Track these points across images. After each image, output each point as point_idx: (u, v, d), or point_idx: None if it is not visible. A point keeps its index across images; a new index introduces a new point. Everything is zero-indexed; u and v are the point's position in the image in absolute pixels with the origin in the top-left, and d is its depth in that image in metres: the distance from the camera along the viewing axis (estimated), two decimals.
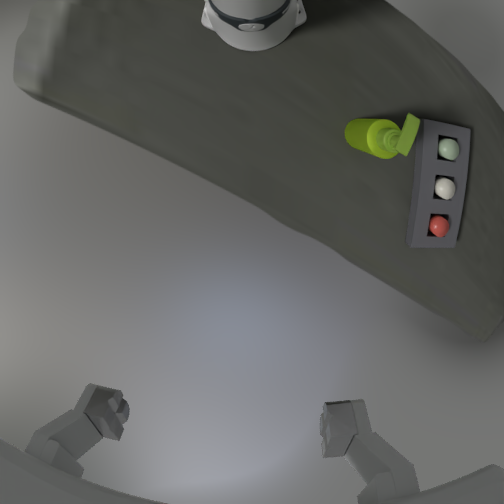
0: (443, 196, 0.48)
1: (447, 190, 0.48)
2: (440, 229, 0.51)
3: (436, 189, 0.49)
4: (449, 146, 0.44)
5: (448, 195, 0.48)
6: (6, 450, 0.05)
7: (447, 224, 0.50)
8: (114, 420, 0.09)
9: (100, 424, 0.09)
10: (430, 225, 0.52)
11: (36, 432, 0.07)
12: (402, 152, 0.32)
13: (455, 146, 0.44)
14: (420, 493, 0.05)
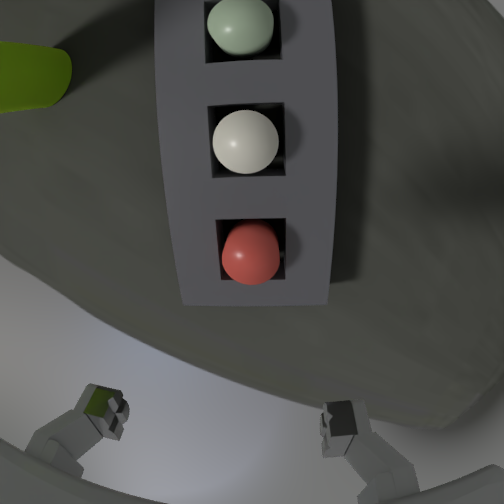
0: (233, 166, 0.18)
1: (245, 143, 0.17)
2: (247, 264, 0.21)
3: None
4: (230, 14, 0.14)
5: (252, 160, 0.18)
6: (6, 450, 0.05)
7: (270, 249, 0.20)
8: (114, 420, 0.09)
9: (100, 424, 0.09)
10: None
11: (36, 432, 0.07)
12: None
13: (255, 9, 0.13)
14: (420, 493, 0.05)
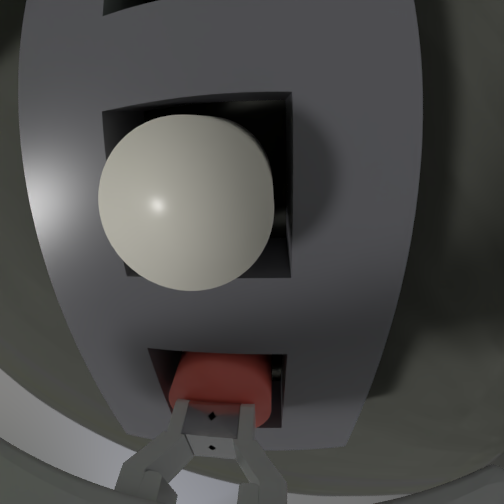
0: (154, 272, 0.07)
1: (178, 213, 0.06)
2: None
3: None
4: None
5: (202, 258, 0.07)
6: (6, 450, 0.05)
7: (254, 398, 0.10)
8: None
9: (199, 443, 0.09)
10: None
11: (125, 464, 0.07)
12: None
13: None
14: (420, 493, 0.05)
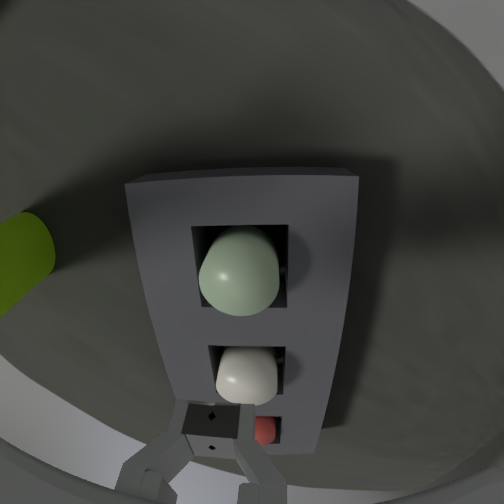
0: (235, 401, 0.19)
1: (246, 389, 0.18)
2: None
3: None
4: (226, 273, 0.15)
5: (253, 399, 0.18)
6: (6, 450, 0.05)
7: (268, 432, 0.22)
8: None
9: (199, 443, 0.09)
10: None
11: (125, 464, 0.07)
12: None
13: (257, 269, 0.14)
14: (420, 493, 0.05)
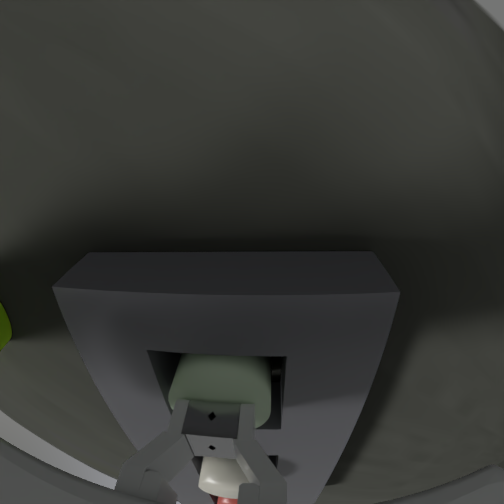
0: (221, 495, 0.14)
1: (232, 490, 0.13)
2: None
3: None
4: (201, 399, 0.10)
5: None
6: (6, 450, 0.05)
7: None
8: None
9: (199, 443, 0.09)
10: None
11: (125, 464, 0.07)
12: None
13: (242, 398, 0.10)
14: (420, 493, 0.05)
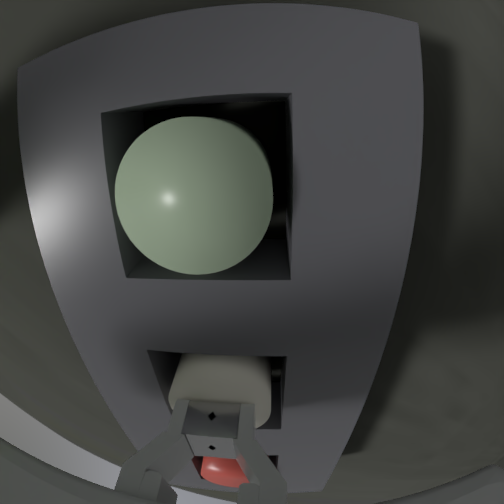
0: None
1: None
2: (230, 479, 0.14)
3: None
4: (163, 179, 0.07)
5: None
6: (6, 450, 0.05)
7: None
8: None
9: (199, 443, 0.09)
10: None
11: (125, 464, 0.07)
12: None
13: (226, 166, 0.07)
14: (420, 493, 0.05)
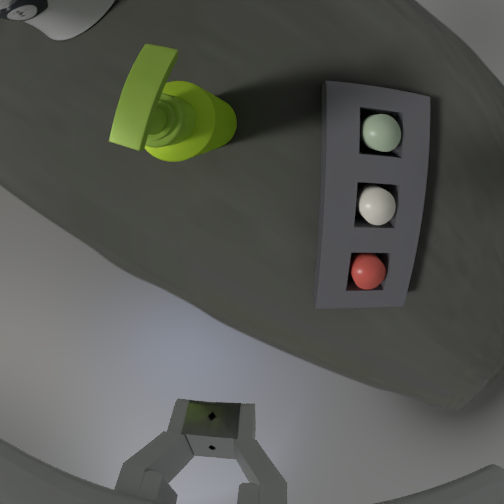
0: (370, 220, 0.30)
1: (378, 208, 0.29)
2: (367, 277, 0.33)
3: (358, 207, 0.31)
4: (378, 127, 0.26)
5: (381, 217, 0.30)
6: (6, 450, 0.05)
7: (381, 268, 0.32)
8: None
9: (199, 443, 0.09)
10: (350, 269, 0.34)
11: (125, 464, 0.07)
12: (127, 143, 0.13)
13: (392, 126, 0.26)
14: (420, 493, 0.05)
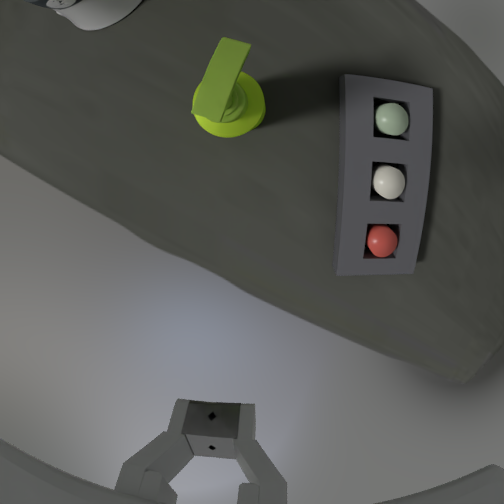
0: (384, 194, 0.34)
1: (390, 183, 0.33)
2: (382, 245, 0.36)
3: (373, 183, 0.34)
4: (389, 114, 0.29)
5: (393, 192, 0.33)
6: (6, 450, 0.05)
7: (394, 237, 0.36)
8: None
9: (199, 443, 0.09)
10: (366, 239, 0.38)
11: (125, 464, 0.07)
12: (209, 115, 0.16)
13: (401, 114, 0.29)
14: (420, 493, 0.05)
